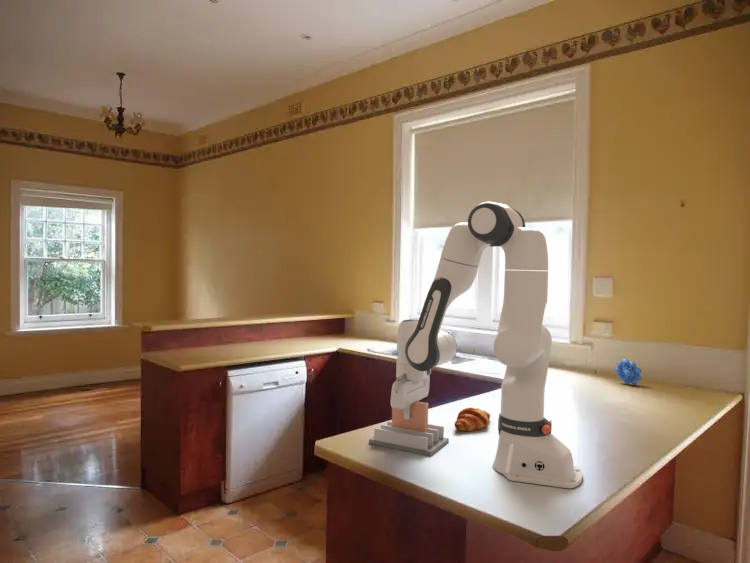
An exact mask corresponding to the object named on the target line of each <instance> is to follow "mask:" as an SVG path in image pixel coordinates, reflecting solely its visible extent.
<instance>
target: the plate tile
mask: <svg viewBox="0 0 750 563" xmlns="http://www.w3.org/2000/svg"><path fill="white" fill-rule="evenodd" d="M409 409H410V413H411V418H410V419H404V412H403V409H394V408H392V407H391V422H392V426H393V427H399V428H404V429H410V430H415V431H420V432H426V433H428V424H429V402H423V401H417V402H415V403H413V404H411V405H410V408H409Z"/></svg>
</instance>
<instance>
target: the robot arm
mask: <svg viewBox="0 0 750 563" xmlns="http://www.w3.org/2000/svg"><path fill="white" fill-rule="evenodd" d="M488 247H501V248H502V250H503V253H504V260H505V261H504V262H505V263H504V286H503V287H504V288H503V300H502V302H503V303H502V307H501V308H502V309H501V312H500V318H499V323H498V327H497V334H496V337H495V339H494V342H493V351H494V355H495V356H496V358H497V360H498V361H499V362H500V364H503V365H504V366H506V368H505V372H504V376H503V380H502V382H501V386H500V387H501V390H500V391H501V393H500V413H499V414H498V420H497V430H498V435H499V436H498V443H497V449H496V453H495V457H494V460H493V463H492V467H493V469H495V471H496V472H498V473H500V474H502V475H503V476H504V477H505V478H506V479H507V480H509V481H511V482H512V481H513V482H521V483H526V484H527V483H528V484H534V485H541V486H542V485H543V486H547V487H548V486H549V487H556V488H563V489H564V488H565V489H573V488H576V487H578V486H580V484H582V481H583V471H582V470H581V469H580V468H579V467H578V466H575V465H574V458H573V455H572V452H571V450H570V448H569V447H567V446H566V445H565V444H564V443H563V442H561V441H560V440H559V439H558V438H557V437H556V436H555V435H554V434H552V420H548V419H547V418H546V417H545V416H544V415H545V414H544V413H545V389H546V388H545V387H546V382H547V375H548V370H549V363H550V357H551V356H550V355H551V348H552V340H553V339H552V335H551V332H550V331H549V329H548V328H547V327H546V326H545V325H543V320H544V315H545V311H546V305H547V304H548V289H549V284H548V283H549V253H548V245H547V240H546V237H545V235H544V233H543V232H541V231H540V230H537V229H536V228H533V227H532V228H531V227H526V222H525V219H524V217H523V215H522V214H521V212H519V211H518V210H516V209H515V208H511V207H510V206H508V205H507V204H503V203H498V202H494V201H485V202H482V203H479V204H478V205H476V206H475V207H473V208H472V210H471V211H470V213H469V215H468V218H467V222H459V223H456V224H454V225H453V226H452V227H451V228H450V230H449V232H448V235H447V237H446V239H445V242H444V245H443V247H442V250H441V254H440V258H439V261H438V265H437V268H436V269H437V270H436V271H435V272H436V273H435V274H434V278H433V281H432V283H431V285H430V288H429V290H428V292H427V294H426V297H425V300H424V302H423V303H424V304H423V307H422V309H421V312H420V316H419V318H417V317H416V318H409V319H404V320H402V321H400V323H399V325H398V329H397V336H396V337H397V338H396V349H397V358H396V367H395V369H396V373H395V374H396V375H395V377H396V379H395V381H394V382H393V383H392V385H391V386H392V387H391V390H390V391H391V394H390V406H391V409H392V408H394V409H403V412H404V419H410V418H411V413H410V409H409V408H410V405H411V404H413V403H415V402H417V401H418V402H420V401H421V400H423V399H424V398H426V397H428V395H429V392H430V379H431V378H430V375H431V374H432V369H434V368H435V367H438V366H442V365H444V364H446V363H449V362H450V361H452V360H454V358H455V356H456V355H457V352H458V344H457V340H456V339H455V337H454V336H453V335H452V334H450V333H449V332H447V331H443V330H441V327H442V325H443V321H444V318H445V315H446V313H447V310H448V308H449V306H451V304H452V303H453V301H455V300H456V299H457V298H458V297H460V296H461V295H463V294H464V293H466V292H467V291H469V290H470V289H471V287H472V286H473V284H474V281H475V279H476V277H477V274H478V270H479V266H480V261H481V258H482V255H483V253H484V251H485V250H486V249H487V248H488Z"/></svg>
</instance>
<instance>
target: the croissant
mask: <svg viewBox="0 0 750 563" xmlns="http://www.w3.org/2000/svg"><path fill="white" fill-rule="evenodd" d="M490 418H491V414H490V413H489V412H487V411H486V410H482V409H480V408H479V407H478V408H475V407H465V408H463V409H462V410H460V411H459V412H458V414H457V416H456V421H455V422H454V427H455V429H456V430H458V431H461V432H462V431H463V432H473V431H474V432H475V431H480V430H482V429H484V428H486V427H487V426H488V425H489V424H490Z"/></svg>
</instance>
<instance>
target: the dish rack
mask: <svg viewBox="0 0 750 563" xmlns="http://www.w3.org/2000/svg"><path fill="white" fill-rule="evenodd" d="M444 430H445V427H444V426H442V425H438V424H433V423H428V433H426V432H420V431H415V430H410V429H404V428H399V427H393V426H392V420H391V421H389V420H387V421H386V424H380V428H378V427H374V430H373V432H374V433H373V434H374V435H373V437H371V438H370V439H369V440H368V444H370V445H375V446H379V447H384V448H388V449H389V448H390V449H393V450H399V451H404V452H409V453H413V454H419V455H423V456H427V457H428V456H429V457H432V456H433V455H434V454H436V453H437V452H438V451H439V450H440V449H441V450H442V448H443V447H445V446H446V445H447V444H448V443H449V438H448V437H444V433H445V432H444Z"/></svg>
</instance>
